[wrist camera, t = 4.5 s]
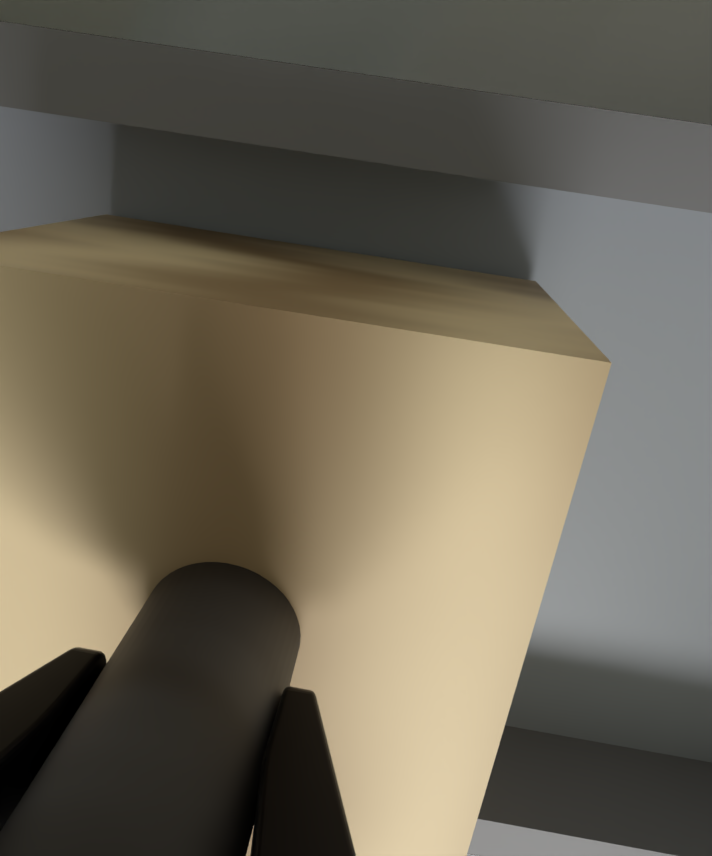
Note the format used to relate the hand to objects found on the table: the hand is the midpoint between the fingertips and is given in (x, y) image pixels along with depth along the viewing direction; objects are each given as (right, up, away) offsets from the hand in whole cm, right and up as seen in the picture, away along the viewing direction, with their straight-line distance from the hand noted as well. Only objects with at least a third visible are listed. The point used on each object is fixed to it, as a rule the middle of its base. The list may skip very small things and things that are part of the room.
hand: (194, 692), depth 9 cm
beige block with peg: (+1, +3, +7) cm, 7 cm away
